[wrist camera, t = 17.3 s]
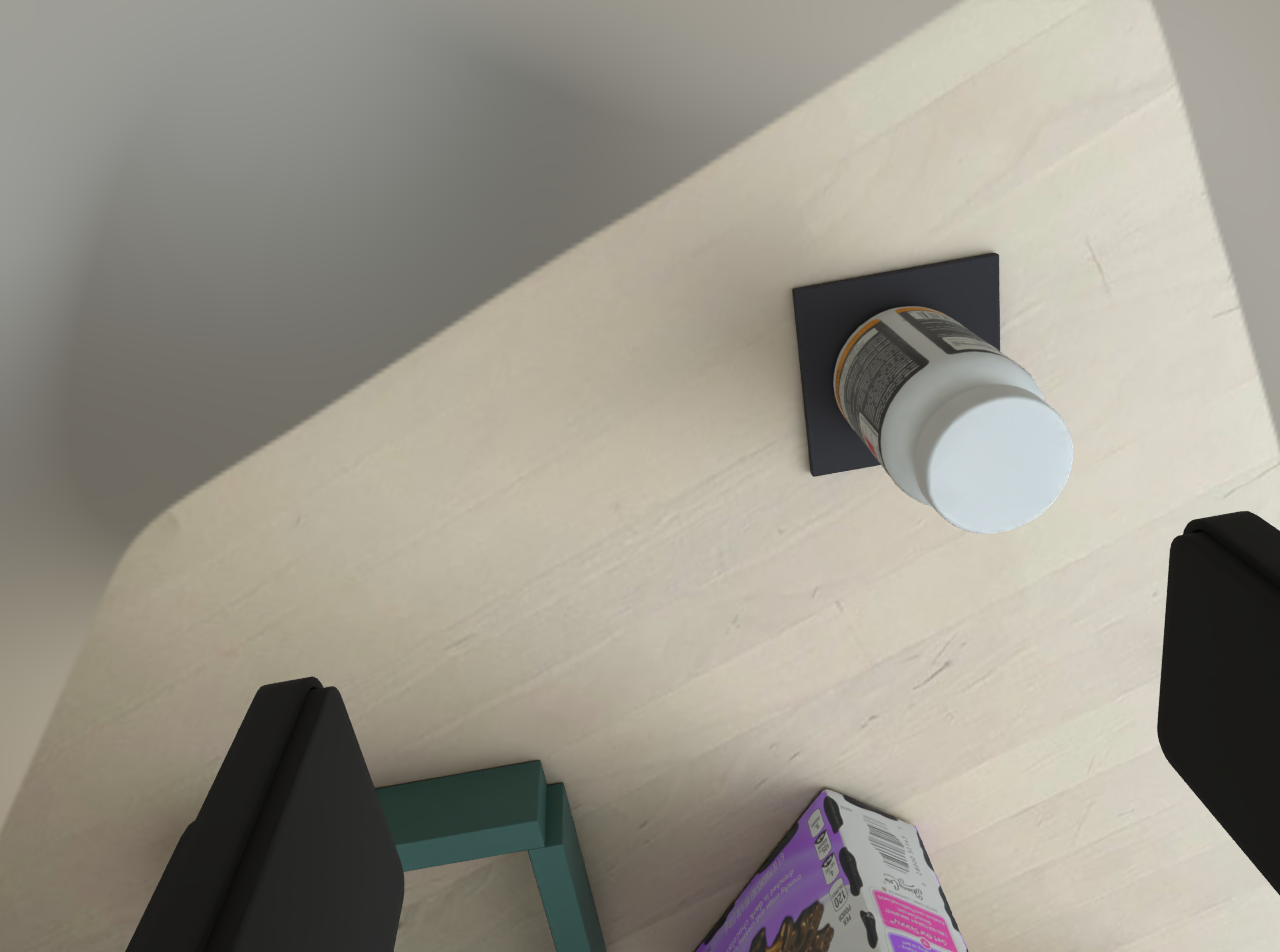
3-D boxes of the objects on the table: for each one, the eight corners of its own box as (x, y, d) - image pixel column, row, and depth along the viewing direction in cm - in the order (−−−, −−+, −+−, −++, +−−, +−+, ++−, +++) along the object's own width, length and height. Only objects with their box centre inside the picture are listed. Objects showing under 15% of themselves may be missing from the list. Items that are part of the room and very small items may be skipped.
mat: (810, 473, 41) (812, 477, 41) (792, 288, 38) (794, 291, 37) (997, 440, 41) (1001, 443, 41) (995, 252, 38) (999, 254, 37)
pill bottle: (868, 461, 41) (954, 581, 32) (804, 350, 38) (878, 445, 29) (991, 390, 40) (1117, 493, 31) (934, 272, 37) (1050, 345, 28)
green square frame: (311, 1053, 53) (292, 1127, 50) (202, 818, 46) (171, 884, 43) (618, 1000, 53) (622, 1070, 50) (556, 756, 46) (555, 817, 43)
